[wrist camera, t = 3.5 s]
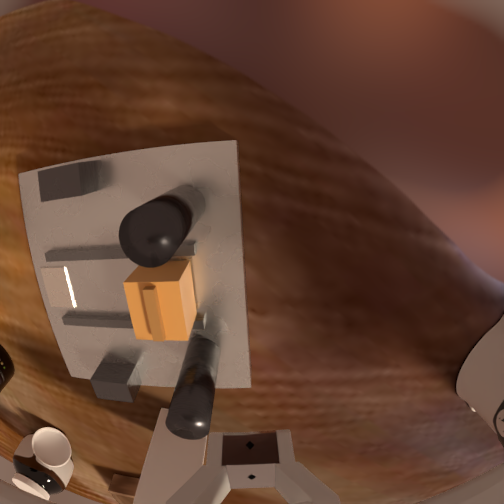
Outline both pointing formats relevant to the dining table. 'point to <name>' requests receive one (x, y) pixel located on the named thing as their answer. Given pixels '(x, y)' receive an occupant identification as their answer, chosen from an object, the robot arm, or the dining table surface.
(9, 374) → the supplement bottle
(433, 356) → the dining table surface
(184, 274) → the block
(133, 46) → the dining table surface
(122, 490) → the walnut tray rim
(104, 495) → the dining table surface
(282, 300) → the dining table surface
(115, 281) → the grey control board
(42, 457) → the spread jar
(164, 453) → the milk
